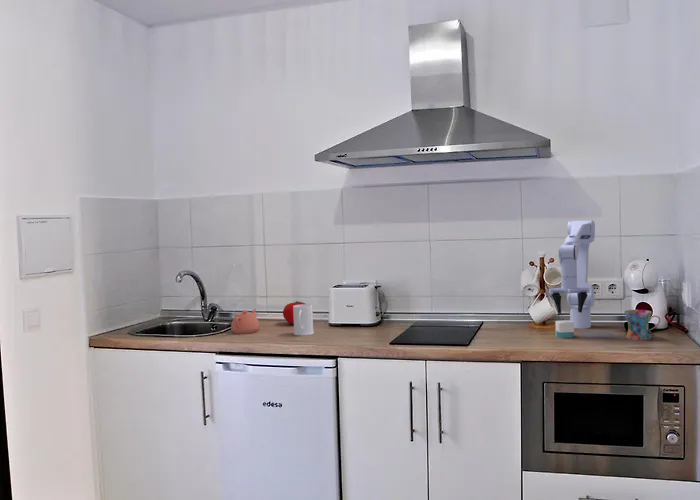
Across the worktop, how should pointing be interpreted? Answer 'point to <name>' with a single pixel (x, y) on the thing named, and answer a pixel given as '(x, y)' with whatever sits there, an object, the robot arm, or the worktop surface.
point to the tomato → (290, 311)
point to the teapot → (245, 323)
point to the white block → (564, 326)
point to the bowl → (564, 334)
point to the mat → (598, 334)
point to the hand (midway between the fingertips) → (569, 312)
